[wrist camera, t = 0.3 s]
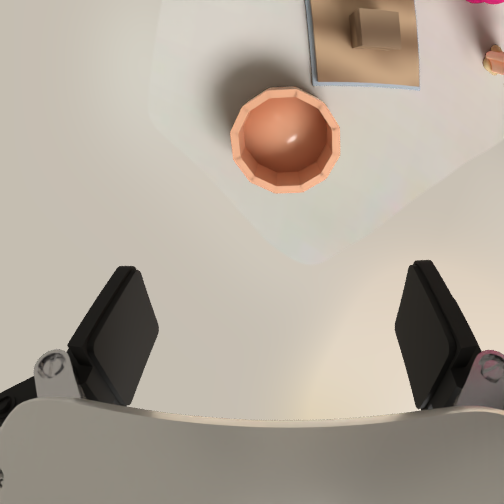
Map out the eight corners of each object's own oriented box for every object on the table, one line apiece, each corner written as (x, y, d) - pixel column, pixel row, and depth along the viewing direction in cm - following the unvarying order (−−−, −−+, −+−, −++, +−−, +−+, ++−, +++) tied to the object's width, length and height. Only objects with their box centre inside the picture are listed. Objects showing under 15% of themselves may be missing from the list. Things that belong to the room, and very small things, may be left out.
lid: (307, -15, 26) (312, -30, 21) (409, -7, 24) (430, -16, 19) (317, 81, 32) (323, 83, 27) (416, 86, 31) (437, 91, 26)
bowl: (233, 90, 34) (225, 94, 29) (330, 85, 32) (338, 88, 28) (243, 178, 40) (237, 195, 35) (332, 174, 38) (340, 191, 34)
